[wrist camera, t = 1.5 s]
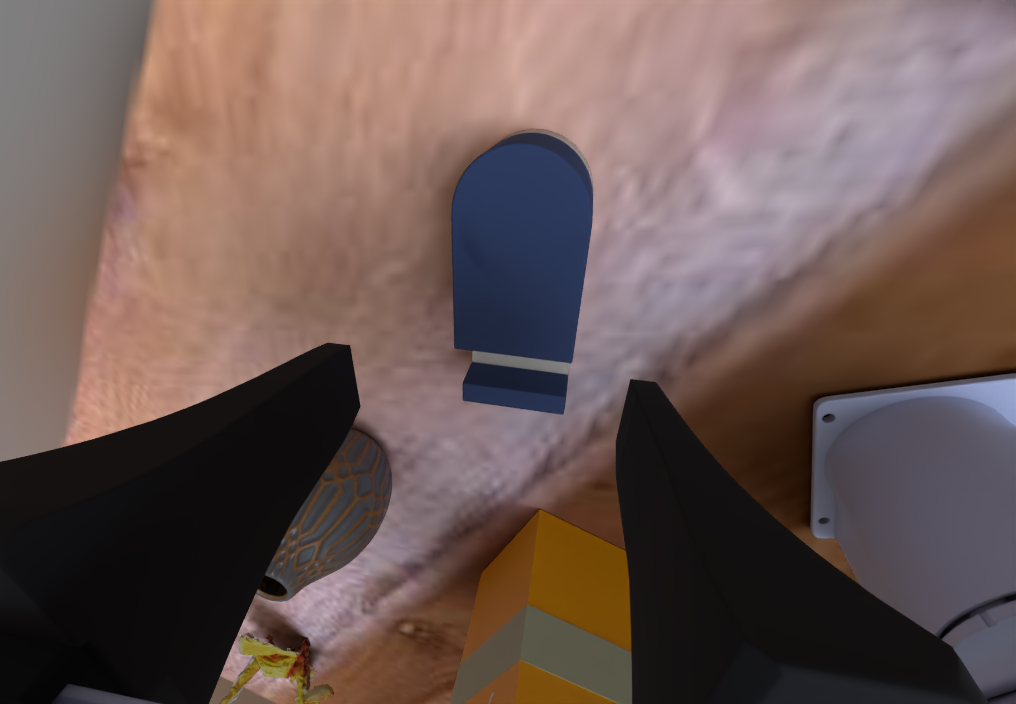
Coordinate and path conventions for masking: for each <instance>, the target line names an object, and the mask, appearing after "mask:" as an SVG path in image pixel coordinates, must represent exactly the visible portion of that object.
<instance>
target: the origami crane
mask: <svg viewBox="0 0 1016 704" xmlns="http://www.w3.org/2000/svg"><path fill="white" fill-rule="evenodd" d="M246 635H248V636H249V637H250V638H249V637H248V638H247V637H245V635H244V634H243V633H242V634H241V636H240V641H239V650H238V651H239V653H240V654H243V655H253V656H252V658H251V659H250V661H249V663H248V665H247V666H246V667H245V669H244V671H242V672H241V673H240V674H239V676H238V677H237V678H236V680H235V682H234V684H233V685H232V687H231V688H230V693H229V695H227V696H226V697H225V698H223V699H222V700H221V702H220V704H230V703H231V702H233V701H234V700H235V699H237V697H238V695H239V693H240V690H241V691H242V690H243V689H242V688H243V687H244V686H245V685H246V684H247V683H248V682H249V680H250V679H251V678H252V677H253V675H254V674H255V673H256V672H258V671H259V669H260V668H261V672H262V673H263V675H264V677H280V678H289V677H291V680H290V681H291V682H292V683H293V684H294V680H295V679H296V680H297V689H298V690H299V691H298V692H296V693H297V694H298V696H297V698H295V699H296V703H297V704H313V703H317V704H320V703H319V701H320V700H323V699H324V698H327V699H328V698H330V697H332V695H334V692H333V689H332V688H331V687H330V686H329V685H328V684H327V685H319V686H317V687H315V686H314V689H313V690H309V687H310V680H311V679H312V678H313V676H314V675H315V674H316V670H315V668H314V667H312V665H311V664H310V661H309V658H308V655H309V654H308V652H309V647H310V643H309V641H308V639H307V638H302V643H303V645H302V646H299V647H297V646H296V647H297V648H298V649H299V652H295V648H292V647H291V648H292V649H290V648H286V649H287V650H288V651H283V650H281V649H280V648H279V647H277V646H275V647H274V646H273V645H275V644H274V643H273V641H272V640H273V635H270V634H269V635H268V636H267V639H268V640H269V643H266V644H265V643H264V642H263V641H262V640H259V639H256V640H255V639H254V640H253V639H251V638H254V636H253V635H252V634H249V633H247V634H246ZM265 641H266V640H265ZM271 644H273V645H271Z"/></svg>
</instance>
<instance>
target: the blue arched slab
mask: <svg viewBox="0 0 1016 704" xmlns="http://www.w3.org/2000/svg"><path fill="white" fill-rule="evenodd" d="M592 216H593V180H592V175H591V171H590V168H589V165H588V163H587V161H586V159H585V157H584V156H583V154H582V153H581V151H580V150H579V149H578V148H577V147H576V146H575V145H574V144H573V143H572V142H571V141H569V140H568V139H566V138H565V137H563V136H562V135H559V134H557V133H555V132H552V131H548V130H542V129H529V130H523V131H520V132H517V133H514V134H512V135H510V136H508V137H506V138H505V139H503V140H502V141H500V142H499V143H498V144H496V145H495V146H493V147H492V148H490V149H489V150H487V151H486V152H484V153H483V154H481V155H480V156H479V157H477V158H476V159H475V160H474V161H473V162H472V163H471V164H470V165H469V166H468V167H467V169H466V170H465V171H464V173H463V174H462V176H461V178H460V180H459V182H458V184H457V186H456V189H455V192H454V196H453V201H452V216H451V221H452V267H453V313H454V348H456V349H463V350H471V351H472V363H471V365H470V367H469V370H468V372H467V374H466V377H465V379H464V381H463V400H464V401H470V402H477V403H484V404H491V405H498V406H506V407H513V408H520V409H527V410H534V411H541V412H548V413H555V414H562V415H563V414H564V409H565V402H566V393H567V383H568V373H569V366H570V363H572V359H573V353H574V346H575V339H576V332H577V325H578V318H579V311H580V304H581V297H582V291H583V284H584V277H585V270H586V263H587V256H588V249H589V242H590V235H591V228H592Z"/></svg>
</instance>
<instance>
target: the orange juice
mask: <svg viewBox="0 0 1016 704" xmlns="http://www.w3.org/2000/svg"><path fill="white" fill-rule="evenodd" d="M451 704H632V659H631V618H630V590H629V574H628V563H627V555H626V551H625V550H623V549H621V548H618V547H616V546H614V545H612V544H610V543H608V542H606V541H604V540H602V539H600V538H598V537H596V536H594V535H592V534H590V533H588V532H586V531H584V530H582V529H580V528H578V527H576V526H573V525H571V524H569V523H567V522H565V521H563V520H561V519H559V518H557V517H555V516H553V515H551V514H549V513H547V512H545V511H543V510H541V509H540V510H539V511H538V512H537V513H536V514H535V515H534V516H533V517H532V518H531V520H530V521H529V522H528V523H527V524H526V525H525V526H524V527H523V528H522V529H521V531H520V532H519V533H518V534H517V535H516V536H515V537H514V538H513V539H512V540H511V541H510V543H509V544H508V545H507V546H506V547H505V548H504V549H503V550H502V551H501V552H500V554H499V555H498V556H497V557H496V558H495V559H494V560H493V561H492V562H491V563H490V564H489V566H488V567H487V568H486V569H485V570H484V571H483V572H482V574H481V578H480V582H479V587H478V591H477V595H476V600H475V604H474V608H473V613H472V617H471V621H470V626H469V630H468V634H467V639H466V643H465V647H464V652H463V656H462V660H461V664H460V665H459V670H458V674H457V678H456V683H455V687H454V691H453V695H452V700H451Z"/></svg>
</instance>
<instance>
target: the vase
mask: <svg viewBox="0 0 1016 704" xmlns="http://www.w3.org/2000/svg"><path fill="white" fill-rule="evenodd" d="M391 491H392V473H391V469H390V466H389V463H388V460H387V458H386V456H385V454H384V453H383V451H382V450H381V448H380V447H379V446H378V444H377V443H376V442H375V441H374V440H372V439H371V438H370V437H368V436H367V435H365V434H363V433H361V432H359V431H356V430H353V429H350V431H349V433H348V435H347V437H346V439H345V441H344V442H343V444H342V445H341V447H340V449H339V450H338V452H337V453H336V455H335V456H334V458H333V459H332V461H331V462H330V464H329V466H328V467H327V469H326V470H325V472H324V473H323V475H322V476H321V478H320V479H319V481H318V482H317V484H316V485H315V487H314V488H313V490H312V491H311V493H310V494H309V496H308V497H307V499H306V500H305V502H304V504H303V505H302V507H301V508H300V510H299V511H298V513H297V515H296V516H295V518H294V520H293V521H292V523H291V525H290V526H289V528H288V530H287V532H286V534H285V536H284V538H283V540H282V542H281V544H280V546H279V548H278V550H277V552H276V553H275V555H274V557H273V559H272V561H271V563H270V565H269V567H268V569H267V572H266V574H265V576H264V578H263V580H262V582H261V584H260V586H259V588H258V590H257V592H256V594H257V595H259V596H261V597H263V598H265V599H268V600H272V601H279V602H281V601H287V600H289V599H291V598H292V597H293V596H294V595H296V594H297V593H298V592H299V591H300V590H302V589H303V588H304V587H306V586H307V585H309V584H310V583H312V582H314V581H317V580H319V579H321V578H323V577H325V576H327V575H329V574H331V573H333V572H335V571H337V570H339V569H341V568H342V567H344V566H345V565H347V564H348V563H350V562H351V561H352V560H353V559H354V558H356V557H357V556H358V555H359V554H360V553H361V552H362V551H363V549H364V548H365V547H366V546H367V545H368V544H369V543H370V541H371V540H372V539H373V537H374V536H375V534H376V533H377V531H378V529H379V527H380V525H381V524H382V521H383V519H384V517H385V514H386V512H387V509H388V506H389V502H390V498H391Z"/></svg>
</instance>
